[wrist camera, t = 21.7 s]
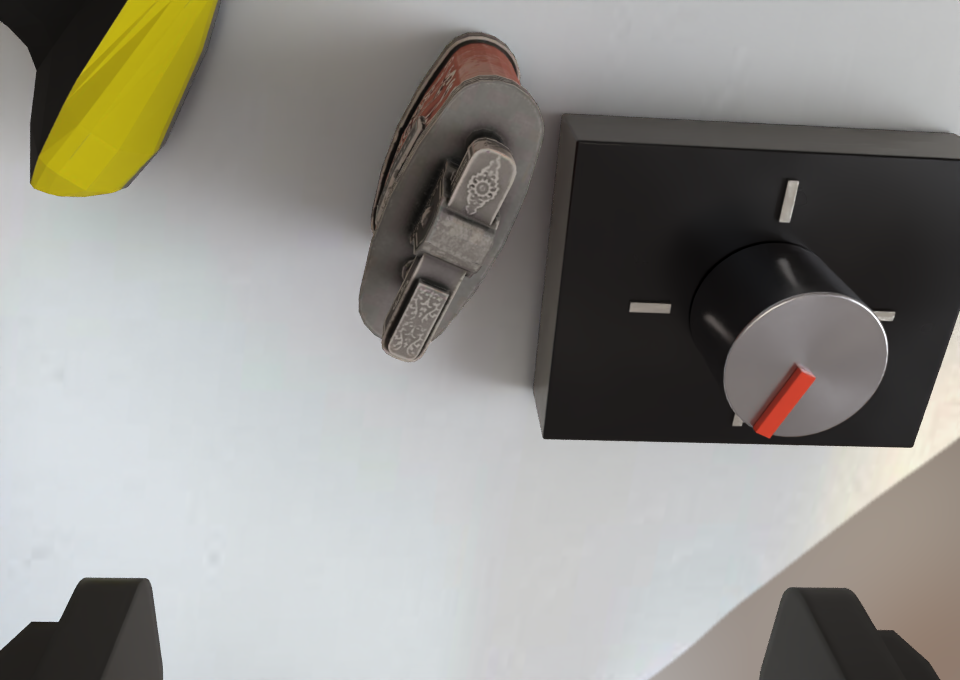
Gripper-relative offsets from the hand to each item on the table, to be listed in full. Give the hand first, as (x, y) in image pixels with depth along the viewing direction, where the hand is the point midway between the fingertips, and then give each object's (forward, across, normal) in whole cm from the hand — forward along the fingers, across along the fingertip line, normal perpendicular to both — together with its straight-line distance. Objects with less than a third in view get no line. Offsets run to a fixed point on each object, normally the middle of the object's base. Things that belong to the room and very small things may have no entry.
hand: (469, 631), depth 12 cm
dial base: (+22, -11, +4) cm, 25 cm away
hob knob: (+19, -11, +4) cm, 22 cm away
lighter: (+22, 0, 0) cm, 22 cm away
